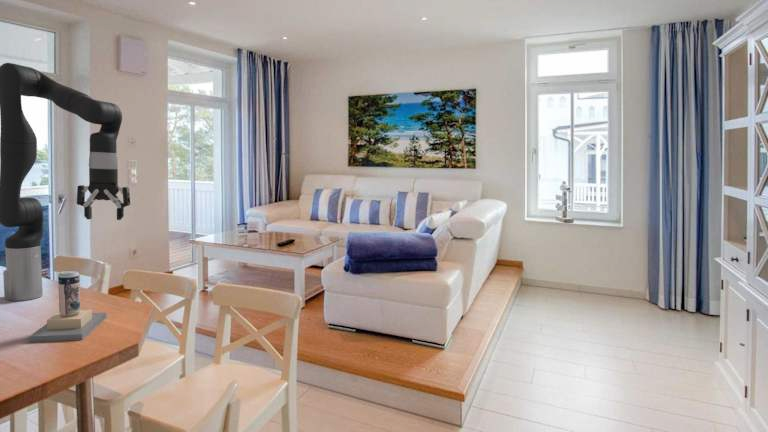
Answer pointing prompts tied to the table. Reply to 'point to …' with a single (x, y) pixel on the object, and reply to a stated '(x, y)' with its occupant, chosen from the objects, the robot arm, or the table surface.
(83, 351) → the table surface
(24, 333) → the table surface
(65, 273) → the beer can
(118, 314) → the table surface
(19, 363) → the table surface
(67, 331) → the slate board
